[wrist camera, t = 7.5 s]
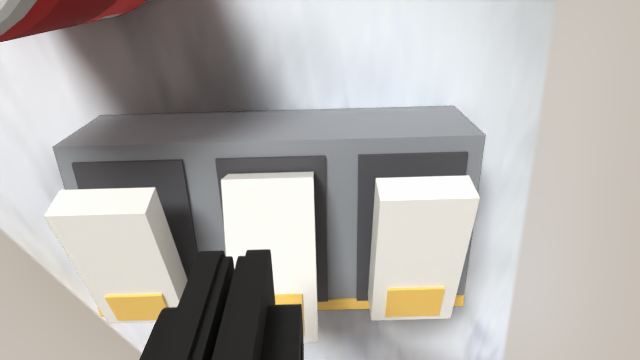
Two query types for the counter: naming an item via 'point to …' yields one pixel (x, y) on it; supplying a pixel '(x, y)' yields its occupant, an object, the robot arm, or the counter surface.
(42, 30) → the canned food
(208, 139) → the switch unit
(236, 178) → the rocker
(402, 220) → the rocker
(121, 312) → the rocker
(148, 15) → the counter surface
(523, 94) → the counter surface
